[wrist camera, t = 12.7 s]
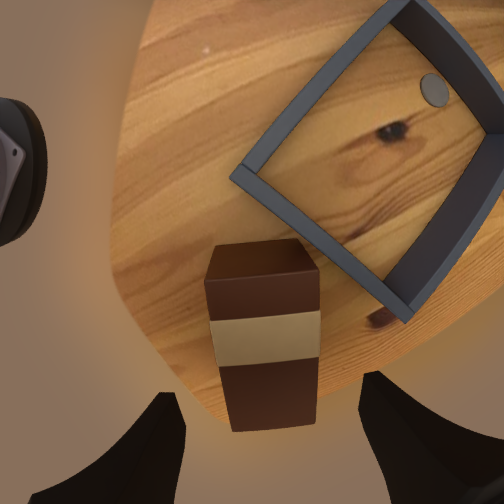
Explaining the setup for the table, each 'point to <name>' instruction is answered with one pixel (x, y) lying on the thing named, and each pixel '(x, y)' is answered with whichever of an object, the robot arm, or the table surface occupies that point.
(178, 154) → the table surface
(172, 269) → the table surface
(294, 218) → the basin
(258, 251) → the brown tan banded block
